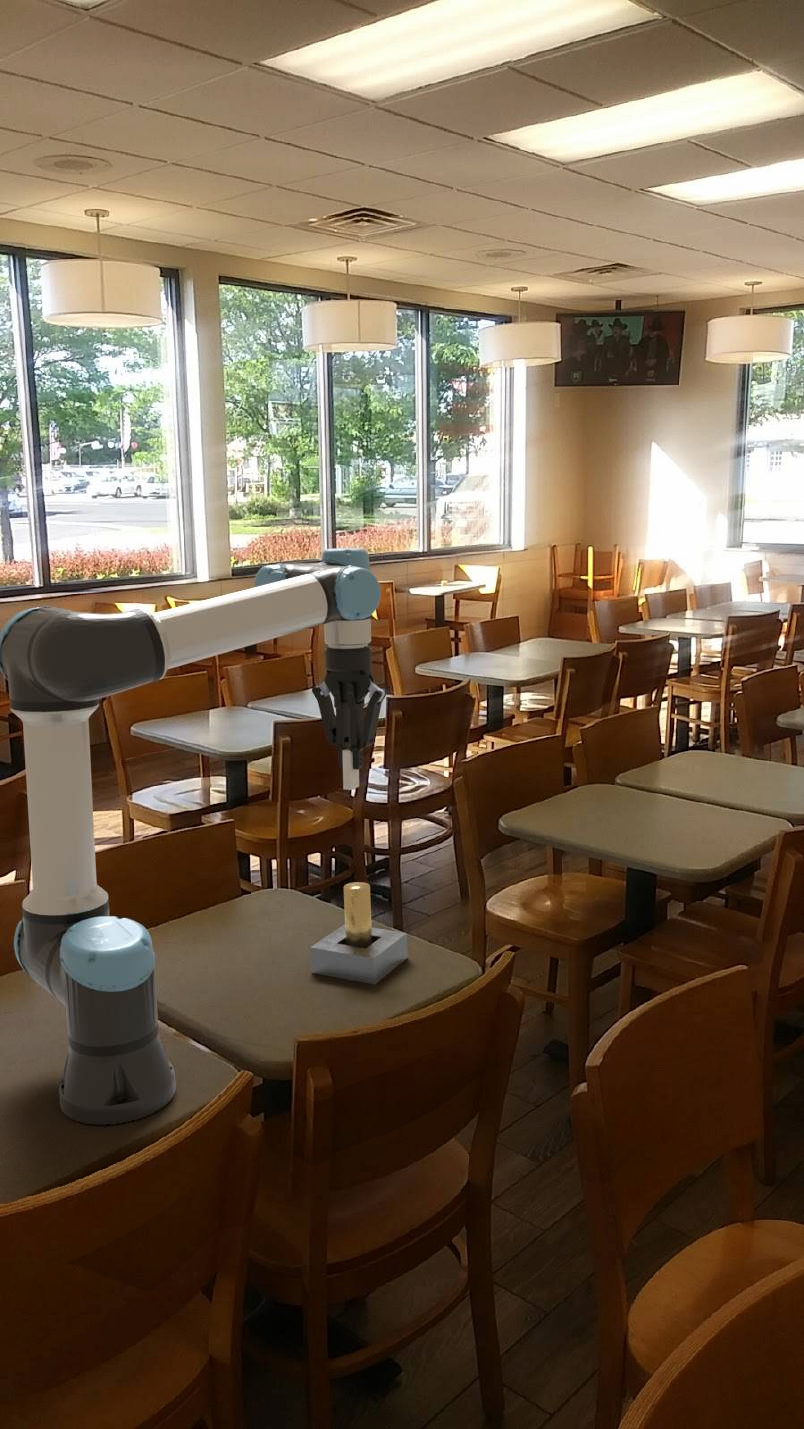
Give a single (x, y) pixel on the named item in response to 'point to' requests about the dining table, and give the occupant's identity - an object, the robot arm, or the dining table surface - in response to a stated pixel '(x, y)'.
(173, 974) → the dining table surface
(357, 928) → the brass cylinder rod
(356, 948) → the block
